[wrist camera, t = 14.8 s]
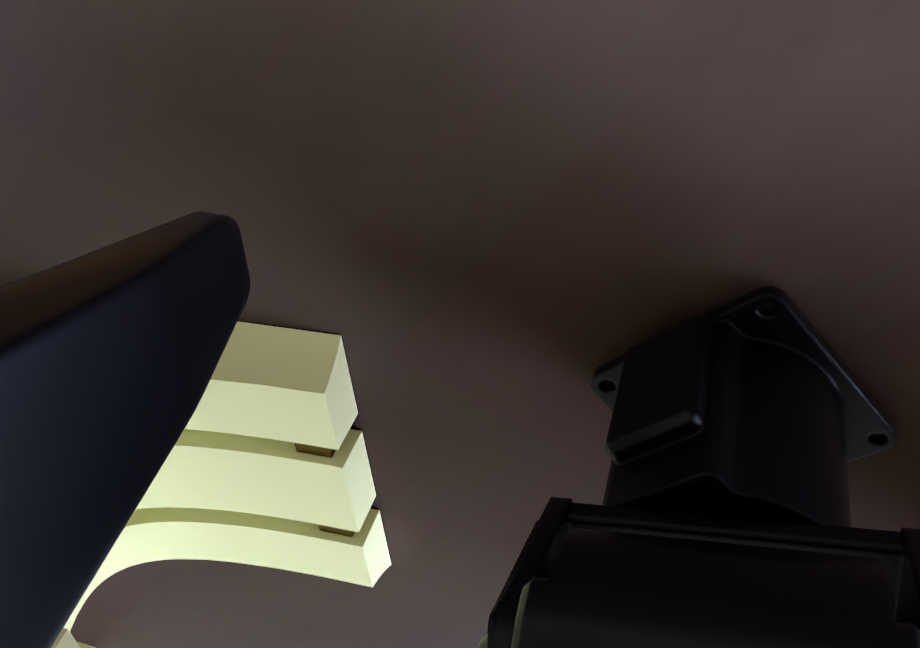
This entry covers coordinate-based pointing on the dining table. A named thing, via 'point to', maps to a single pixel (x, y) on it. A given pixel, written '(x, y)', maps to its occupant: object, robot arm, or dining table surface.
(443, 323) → the dining table surface
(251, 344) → the slatted curved stool
